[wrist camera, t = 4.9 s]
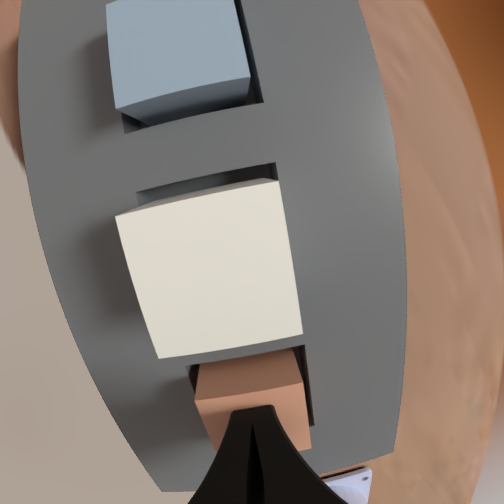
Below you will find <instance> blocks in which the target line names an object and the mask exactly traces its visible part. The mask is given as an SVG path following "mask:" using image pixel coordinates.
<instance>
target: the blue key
mask: <svg viewBox="0 0 504 504" xmlns="http://www.w3.org/2000/svg"><path fill="white" fill-rule="evenodd" d="M106 18H107V34H108V46H109V57H110V67H111V76H112V85H113V93H114V100H115V107H116V109H117V110H119V111H121V112H123V113H125V114H127V115H129V116H131V117H133V118H135V119H137V120H139V121H141V122H143V123H145V124H147V125H149V126H153V125H157V124H161V123H164V122H168V121H172V120H176V119H180V118H185V117H189V116H193V115H198V114H202V113H207V112H212V111H217V110H222V109H227V108H232V107H238V106H243V105H246V99H247V94H248V88H249V83H250V77H251V76H250V72H249V67H248V62H247V58H246V53H245V49H244V44H243V40H242V35H241V31H240V26H239V22H238V17H237V13H236V9H235V5H234V0H117V1H115V2H112V3H109V4H106Z"/></svg>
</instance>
